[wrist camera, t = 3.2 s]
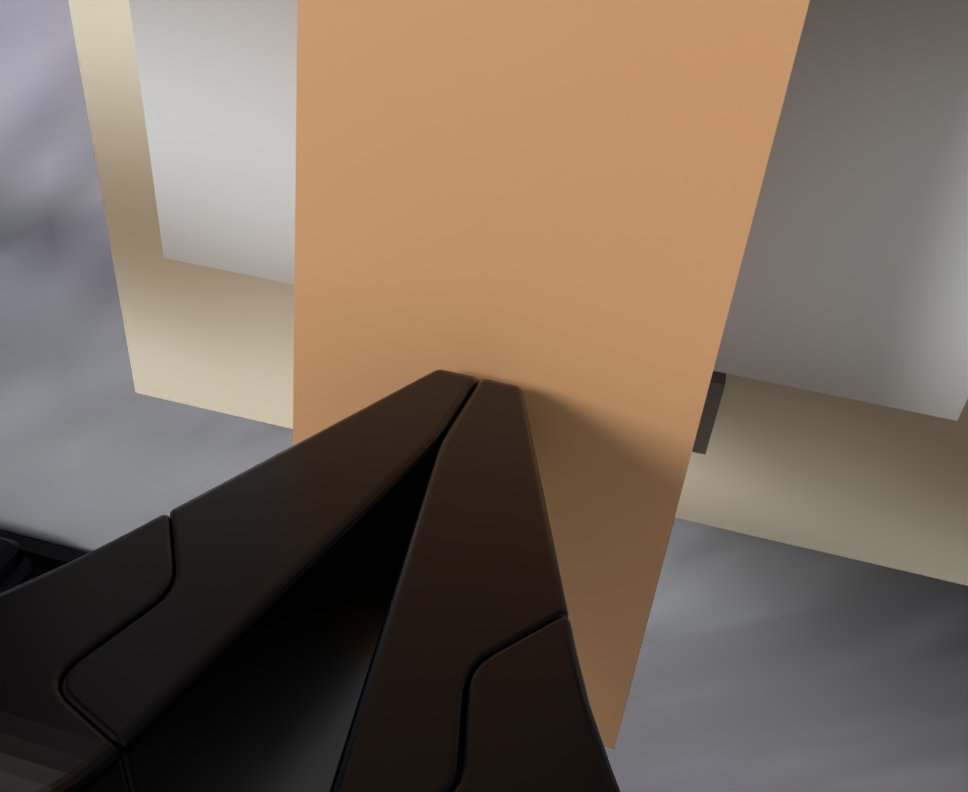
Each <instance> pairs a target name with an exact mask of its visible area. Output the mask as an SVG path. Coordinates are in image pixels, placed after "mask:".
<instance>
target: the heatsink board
mask: <svg viewBox="0 0 968 792" xmlns="http://www.w3.org/2000/svg"><path fill="white" fill-rule="evenodd" d="M68 1H69V7H70V13H71V19H72V25H73V31H74V36H75V42H76V48H77V54H78V60H79V66H80V71H81V77H82V83H83V89H84V95H85V101H86V106H87V112H88V118H89V124H90V130H91V135H92V141H93V147H94V153H95V159H96V165H97V170H98V176H99V182H100V188H101V194H102V200H103V205H104V211H105V217H106V223H107V229H108V235H109V240H110V246H111V252H112V258H113V264H114V270H115V275H116V281H117V287H118V293H119V299H120V305H121V310H122V316H123V322H124V328H125V334H126V340H127V345H128V351H129V357H130V363H131V369H132V374H133V380H134V386H135V392H136V393H139V394H144V395H148V396H152V397H157V398H161V399H165V400H170V401H174V402H178V403H182V404H187V405H191V406H195V407H200V408H204V409H208V410H213V411H217V412H221V413H226V414H230V415H234V416H239V417H243V418H247V419H251V420H256V421H260V422H264V423H269V424H273V425H277V426H282V427H286V428H290V429H293V374H294V282H295V190H296V99H297V7H298V0H68ZM675 518H678V519H682V520H687V521H691V522H695V523H700V524H704V525H708V526H713V527H717V528H721V529H726V530H730V531H734V532H739V533H743V534H747V535H751V536H756V537H760V538H764V539H769V540H773V541H777V542H782V543H786V544H790V545H795V546H799V547H803V548H807V549H812V550H816V551H820V552H825V553H829V554H833V555H838V556H842V557H846V558H851V559H855V560H859V561H864V562H868V563H872V564H876V565H881V566H885V567H889V568H894V569H898V570H902V571H907V572H911V573H915V574H920V575H924V576H928V577H932V578H937V579H941V580H945V581H950V582H954V583H958V584H963V585H967V586H968V0H810V2H809V6H808V10H807V14H806V17H805V21H804V25H803V29H802V33H801V37H800V40H799V44H798V48H797V52H796V56H795V60H794V63H793V67H792V71H791V75H790V79H789V82H788V86H787V90H786V94H785V98H784V102H783V105H782V109H781V113H780V117H779V121H778V125H777V128H776V132H775V136H774V140H773V144H772V147H771V151H770V155H769V159H768V163H767V167H766V170H765V174H764V178H763V182H762V186H761V190H760V193H759V197H758V201H757V205H756V209H755V212H754V216H753V220H752V224H751V228H750V232H749V235H748V239H747V243H746V247H745V251H744V254H743V258H742V262H741V266H740V270H739V274H738V277H737V281H736V285H735V289H734V293H733V297H732V300H731V304H730V308H729V312H728V316H727V319H726V323H725V327H724V331H723V335H722V339H721V342H720V346H719V350H718V354H717V358H716V362H715V365H714V369H713V373H712V377H711V381H710V384H709V388H708V392H707V396H706V400H705V404H704V407H703V411H702V415H701V419H700V423H699V427H698V430H697V434H696V438H695V442H694V446H693V449H692V453H691V457H690V461H689V465H688V469H687V472H686V476H685V480H684V484H683V488H682V492H681V495H680V499H679V503H678V507H677V511H676V514H675Z"/></svg>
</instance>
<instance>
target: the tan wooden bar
mask: <svg viewBox="0 0 968 792" xmlns="http://www.w3.org/2000/svg"><path fill="white" fill-rule="evenodd" d="M809 2H810V0H298V7H297V99H296V190H295V282H294V374H293V446H294V445H296V444H298V443H299V442H301V441H303V440H305V439H307V438H309V437H311V436H313V435H314V434H316V433H318V432H320V431H322V430H324V429H326V428H328V427H330V426H331V425H333V424H335V423H337V422H339V421H341V420H343V419H345V418H347V417H348V416H350V415H352V414H354V413H356V412H358V411H360V410H362V409H363V408H365V407H367V406H369V405H371V404H373V403H375V402H377V401H379V400H380V399H382V398H384V397H386V396H388V395H390V394H392V393H394V392H395V391H397V390H399V389H401V388H403V387H405V386H407V385H409V384H411V383H412V382H414V381H416V380H418V379H420V378H422V377H424V376H426V375H427V374H429V373H431V372H433V371H436V370H440V369H441V370H447V371H451V372H456V373H460V374H465V375H470V376H473V377H475V378H476V379H477V381H478V383H479V382H480V381H481V380H484V379H488V380H492V381H497V382H502V383H507V384H511V385H516V386H518V387H520V388H521V390H522V392H523V395H524V400H525V405H526V410H527V415H528V419H529V424H530V429H531V434H532V439H533V444H534V449H535V453H536V458H537V463H538V468H539V473H540V478H541V483H542V488H543V492H544V497H545V502H546V507H547V512H548V517H549V522H550V527H551V531H552V536H553V541H554V546H555V551H556V556H557V561H558V565H559V570H560V575H561V580H562V585H563V590H564V595H565V600H566V604H567V609H568V619H569V621H570V622H571V626H572V631H573V636H574V641H575V646H576V650H577V655H578V659H579V663H580V667H581V671H582V675H583V679H584V683H585V687H586V691H587V695H588V699H589V703H590V706H591V709H592V712H593V715H594V718H595V721H596V724H597V727H598V730H599V733H600V736H601V739H602V742H603V745H604V746H606V747H610V748H613V749H614V748H615V744H616V740H617V736H618V732H619V729H620V725H621V721H622V717H623V713H624V709H625V706H626V702H627V698H628V694H629V690H630V687H631V683H632V679H633V675H634V671H635V667H636V664H637V660H638V656H639V652H640V648H641V644H642V641H643V637H644V633H645V629H646V625H647V622H648V618H649V614H650V610H651V606H652V602H653V599H654V595H655V591H656V587H657V583H658V579H659V576H660V572H661V568H662V564H663V560H664V557H665V553H666V549H667V545H668V541H669V537H670V534H671V530H672V526H673V522H674V518H675V514H676V511H677V507H678V503H679V499H680V495H681V492H682V488H683V484H684V480H685V476H686V472H687V469H688V465H689V461H690V457H691V453H692V449H693V446H694V442H695V438H696V434H697V430H698V427H699V423H700V419H701V415H702V411H703V407H704V404H705V400H706V396H707V392H708V388H709V384H710V381H711V377H712V373H713V369H714V365H715V362H716V358H717V354H718V350H719V346H720V342H721V339H722V335H723V331H724V327H725V323H726V319H727V316H728V312H729V308H730V304H731V300H732V297H733V293H734V289H735V285H736V281H737V277H738V274H739V270H740V266H741V262H742V258H743V254H744V251H745V247H746V243H747V239H748V235H749V232H750V228H751V224H752V220H753V216H754V212H755V209H756V205H757V201H758V197H759V193H760V190H761V186H762V182H763V178H764V174H765V170H766V167H767V163H768V159H769V155H770V151H771V147H772V144H773V140H774V136H775V132H776V128H777V125H778V121H779V117H780V113H781V109H782V105H783V102H784V98H785V94H786V90H787V86H788V82H789V79H790V75H791V71H792V67H793V63H794V60H795V56H796V52H797V48H798V44H799V40H800V37H801V33H802V29H803V25H804V21H805V17H806V14H807V10H808V6H809Z"/></svg>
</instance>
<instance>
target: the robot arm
mask: <svg viewBox="0 0 968 792" xmlns="http://www.w3.org/2000/svg"><path fill="white" fill-rule="evenodd" d="M0 792H620V790H619V787H618V784H617V782H616V779H615V776H614V774H613V771H612V768H611V766H610V763H609V760H608V757H607V754H606V751H605V748H604V745H603V742H602V739H601V736H600V733H599V730H598V727H597V724H596V721H595V718H594V715H593V712H592V709H591V706H590V703H589V699H588V695H587V691H586V687H585V683H584V679H583V675H582V671H581V667H580V663H579V659H578V655H577V650H576V646H575V641H574V636H573V631H572V626H571V622H570V621H569V619H568V609H567V604H566V600H565V595H564V590H563V585H562V580H561V575H560V570H559V565H558V561H557V556H556V551H555V546H554V541H553V536H552V531H551V527H550V522H549V517H548V512H547V507H546V502H545V497H544V492H543V488H542V483H541V478H540V473H539V468H538V463H537V458H536V453H535V449H534V444H533V439H532V434H531V429H530V424H529V419H528V415H527V410H526V405H525V400H524V395H523V392H522V390H521V388H520V387H518V386H516V385H511V384H507V383H502V382H497V381H492V380H488V379H484V380H481V381H480V382H479V383H478V381H477V379H476V378H475V377H473V376H470V375H465V374H460V373H456V372H451V371H447V370H441V369H440V370H436V371H433V372H431V373H429V374H427V375H426V376H424V377H422V378H420V379H418V380H416V381H414V382H412V383H411V384H409V385H407V386H405V387H403V388H401V389H399V390H397V391H395V392H394V393H392V394H390V395H388V396H386V397H384V398H382V399H380V400H379V401H377V402H375V403H373V404H371V405H369V406H367V407H365V408H363V409H362V410H360V411H358V412H356V413H354V414H352V415H350V416H348V417H347V418H345V419H343V420H341V421H339V422H337V423H335V424H333V425H331V426H330V427H328V428H326V429H324V430H322V431H320V432H318V433H316V434H314V435H313V436H311V437H309V438H307V439H305V440H303V441H301V442H299V443H298V444H296V445H294V446H292V447H290V448H288V449H286V450H284V451H282V452H281V453H279V454H277V455H275V456H273V457H271V458H269V459H267V460H266V461H264V462H262V463H260V464H258V465H256V466H254V467H252V468H250V469H249V470H247V471H245V472H243V473H241V474H239V475H237V476H235V477H234V478H232V479H230V480H228V481H226V482H224V483H222V484H220V485H218V486H217V487H215V488H213V489H211V490H209V491H207V492H205V493H203V494H202V495H200V496H198V497H196V498H194V499H192V500H190V501H188V502H186V503H185V504H183V505H181V506H179V507H177V508H175V509H173V510H172V511H171V512H170V518H169V516H167V515H161V516H160V517H158V518H156V519H154V520H152V521H150V522H148V523H146V524H144V525H143V526H141V527H139V528H137V529H135V530H133V531H131V532H129V533H127V534H125V535H123V536H121V537H119V538H117V539H115V540H114V541H112V542H110V543H108V544H106V545H104V546H102V547H100V548H98V549H96V550H94V551H92V552H90V553H88V554H85V553H82V552H78V551H75V550H71V549H67V548H63V547H59V546H56V545H52V544H48V543H44V542H41V541H37V540H33V539H29V538H25V537H22V536H18V535H14V534H10V533H7V532H3V531H0Z"/></svg>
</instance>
